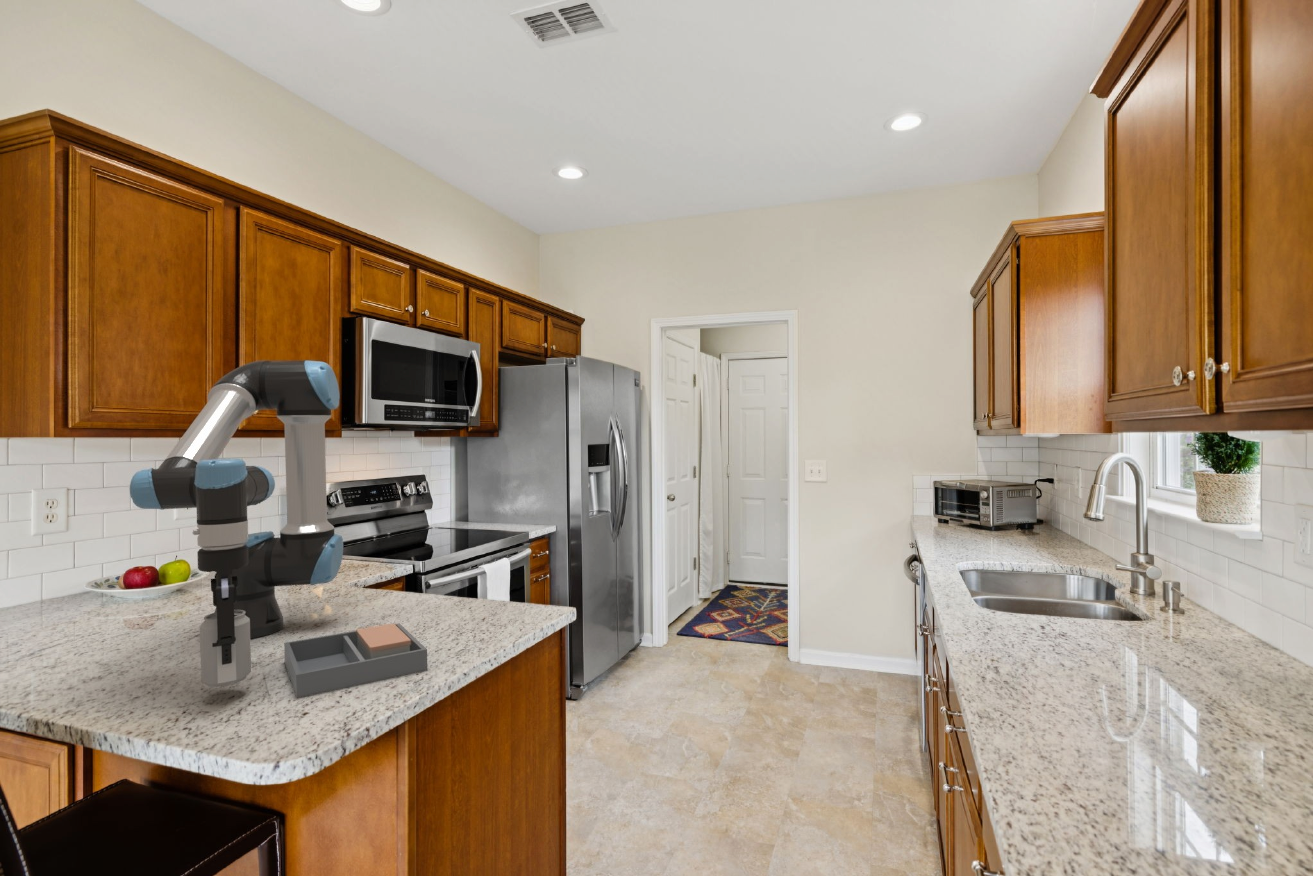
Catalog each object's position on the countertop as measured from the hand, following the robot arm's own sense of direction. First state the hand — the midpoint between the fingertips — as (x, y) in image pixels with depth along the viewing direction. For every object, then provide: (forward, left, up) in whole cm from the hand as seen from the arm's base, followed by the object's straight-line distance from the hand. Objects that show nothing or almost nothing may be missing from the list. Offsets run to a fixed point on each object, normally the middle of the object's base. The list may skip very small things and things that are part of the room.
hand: (226, 673), depth 116 cm
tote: (0, +21, -4) cm, 21 cm away
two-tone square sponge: (0, +26, -3) cm, 26 cm away
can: (0, 0, -1) cm, 1 cm away
